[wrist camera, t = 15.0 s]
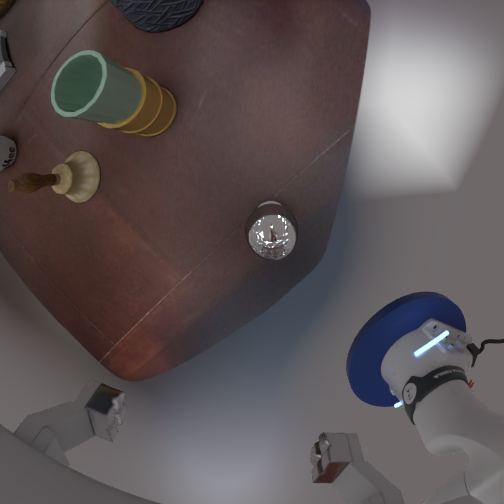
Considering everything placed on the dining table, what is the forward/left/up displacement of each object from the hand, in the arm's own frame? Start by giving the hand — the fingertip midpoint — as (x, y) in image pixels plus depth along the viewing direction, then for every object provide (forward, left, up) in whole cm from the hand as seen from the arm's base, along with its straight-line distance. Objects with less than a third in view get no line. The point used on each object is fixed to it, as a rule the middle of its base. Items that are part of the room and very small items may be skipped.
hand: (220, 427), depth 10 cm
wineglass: (-2, -3, -33) cm, 33 cm away
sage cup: (+18, -15, -22) cm, 32 cm away
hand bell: (+29, -4, -33) cm, 44 cm away
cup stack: (+18, -15, -33) cm, 40 cm away
